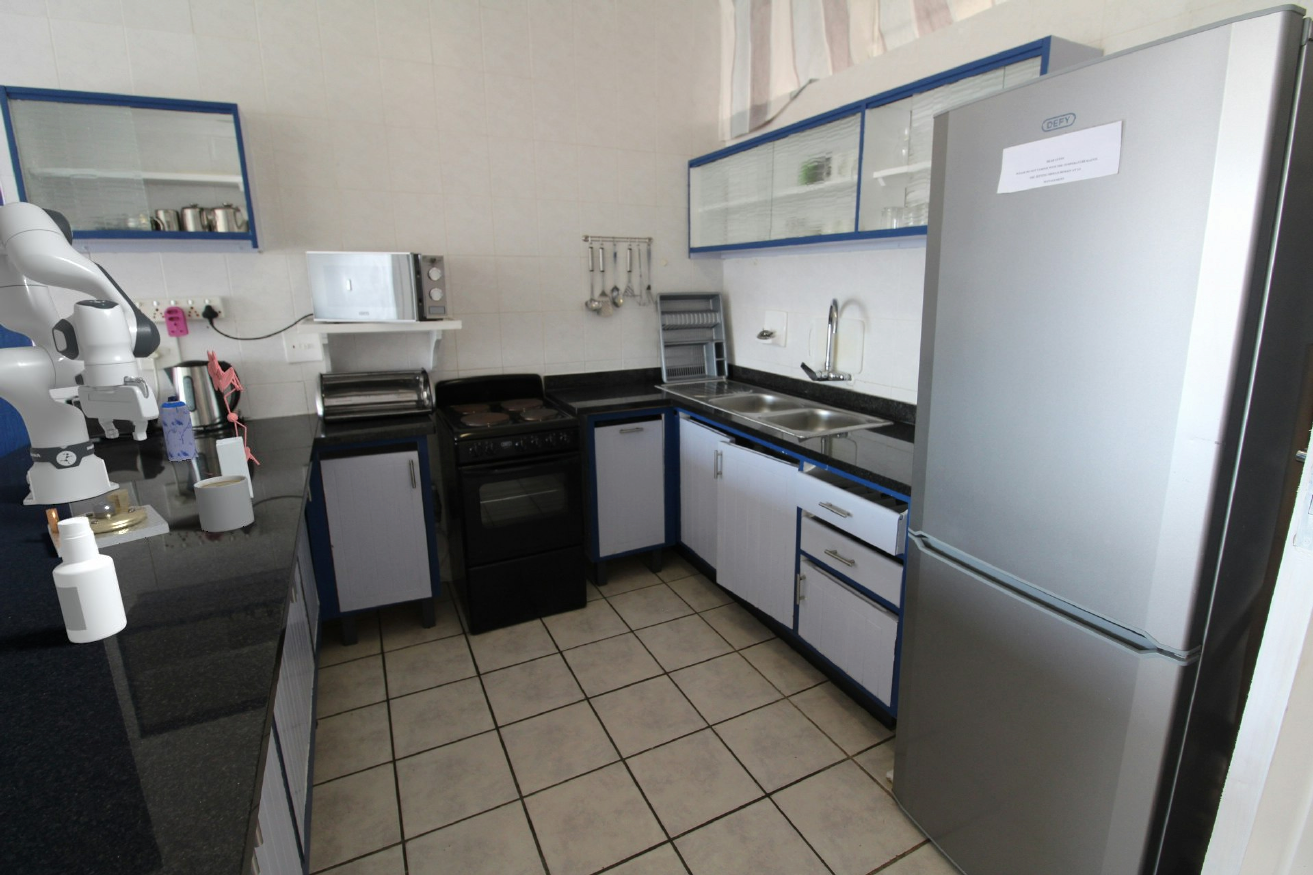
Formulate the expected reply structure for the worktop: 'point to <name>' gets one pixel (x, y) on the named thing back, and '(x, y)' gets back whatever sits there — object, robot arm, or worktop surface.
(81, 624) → the white bottle
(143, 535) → the base plate
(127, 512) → the flange plate
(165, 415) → the aerosol can
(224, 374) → the figurine
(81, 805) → the worktop surface
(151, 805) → the worktop surface
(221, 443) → the skincare box
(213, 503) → the coffee mug
